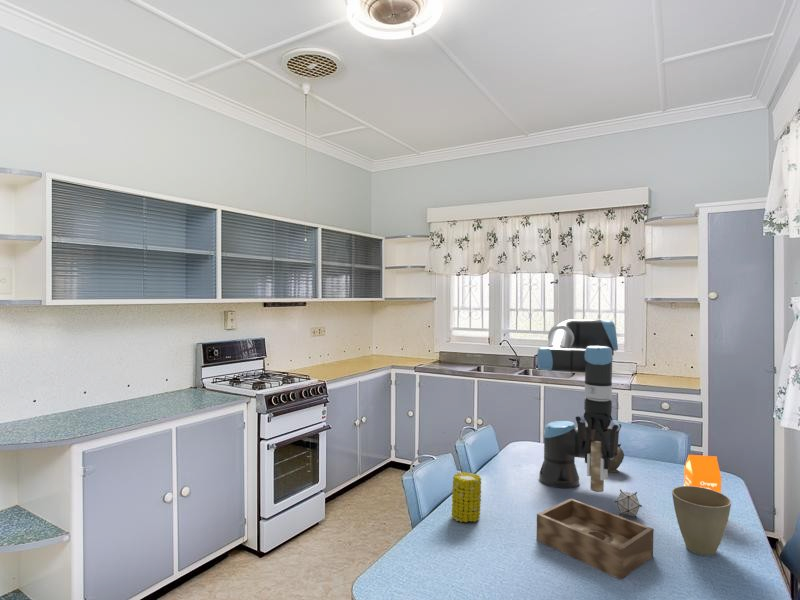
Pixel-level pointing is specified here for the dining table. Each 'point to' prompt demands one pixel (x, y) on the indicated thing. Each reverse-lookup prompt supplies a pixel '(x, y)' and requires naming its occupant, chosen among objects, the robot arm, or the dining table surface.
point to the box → (596, 537)
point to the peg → (596, 467)
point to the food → (466, 497)
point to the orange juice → (702, 472)
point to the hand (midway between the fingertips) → (597, 476)
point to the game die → (628, 503)
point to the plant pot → (701, 517)
